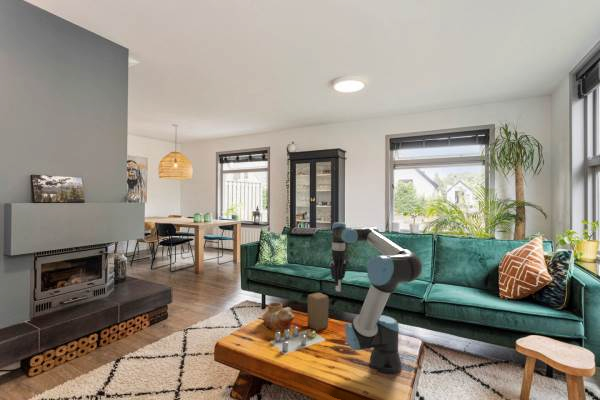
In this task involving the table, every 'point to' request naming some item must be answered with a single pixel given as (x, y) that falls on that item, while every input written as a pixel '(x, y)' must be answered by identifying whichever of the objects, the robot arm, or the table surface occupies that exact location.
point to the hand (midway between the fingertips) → (338, 290)
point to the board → (297, 342)
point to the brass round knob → (311, 333)
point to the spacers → (287, 337)
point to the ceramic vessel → (278, 317)
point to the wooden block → (317, 311)
